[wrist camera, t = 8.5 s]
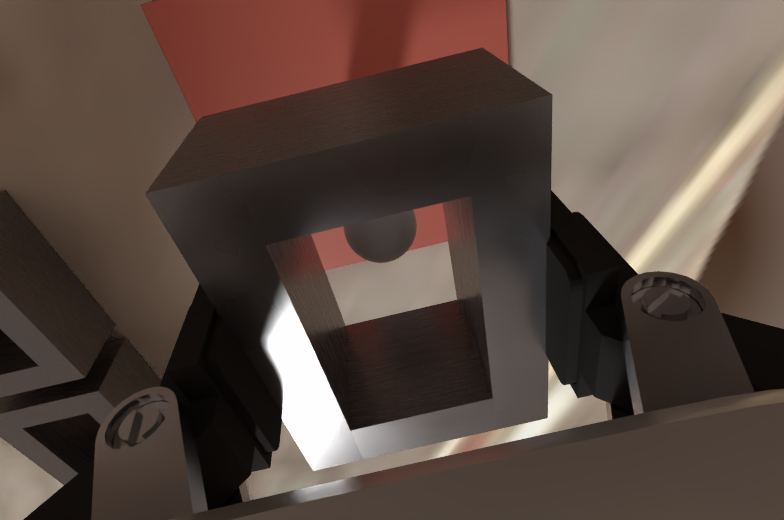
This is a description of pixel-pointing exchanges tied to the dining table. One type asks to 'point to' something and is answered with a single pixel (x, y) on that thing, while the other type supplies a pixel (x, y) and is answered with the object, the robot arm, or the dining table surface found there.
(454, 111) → the end link
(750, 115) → the dining table surface
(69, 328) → the link
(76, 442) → the link
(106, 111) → the dining table surface
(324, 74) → the keeper
